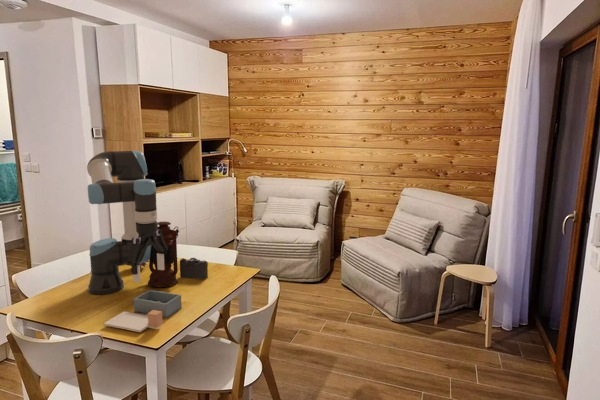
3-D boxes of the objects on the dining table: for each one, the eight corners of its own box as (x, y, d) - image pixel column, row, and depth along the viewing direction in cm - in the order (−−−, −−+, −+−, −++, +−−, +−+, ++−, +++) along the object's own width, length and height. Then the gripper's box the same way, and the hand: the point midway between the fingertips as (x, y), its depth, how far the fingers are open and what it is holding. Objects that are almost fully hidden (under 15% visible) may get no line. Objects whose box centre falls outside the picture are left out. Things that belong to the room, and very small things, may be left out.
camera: (212, 272, 215) (212, 254, 214) (205, 279, 205) (205, 261, 203) (186, 271, 217) (185, 253, 215) (178, 278, 206) (177, 259, 204)
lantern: (138, 283, 196) (139, 222, 193) (158, 276, 208) (159, 218, 205) (167, 289, 189) (168, 226, 186) (186, 281, 202) (187, 222, 199)
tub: (134, 312, 168) (133, 298, 167) (150, 302, 177) (149, 289, 176) (166, 318, 163) (166, 304, 162) (181, 308, 172) (181, 294, 171)
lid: (104, 328, 155) (102, 310, 154) (124, 315, 165) (123, 299, 164) (151, 337, 148) (150, 319, 147) (169, 324, 158) (168, 307, 157)
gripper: (130, 230, 137) (134, 289, 141) (175, 215, 160) (177, 266, 164) (113, 228, 139) (117, 286, 143) (159, 213, 163) (162, 263, 167)
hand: (149, 275), depth 154 cm, fingers open, 13 cm apart
